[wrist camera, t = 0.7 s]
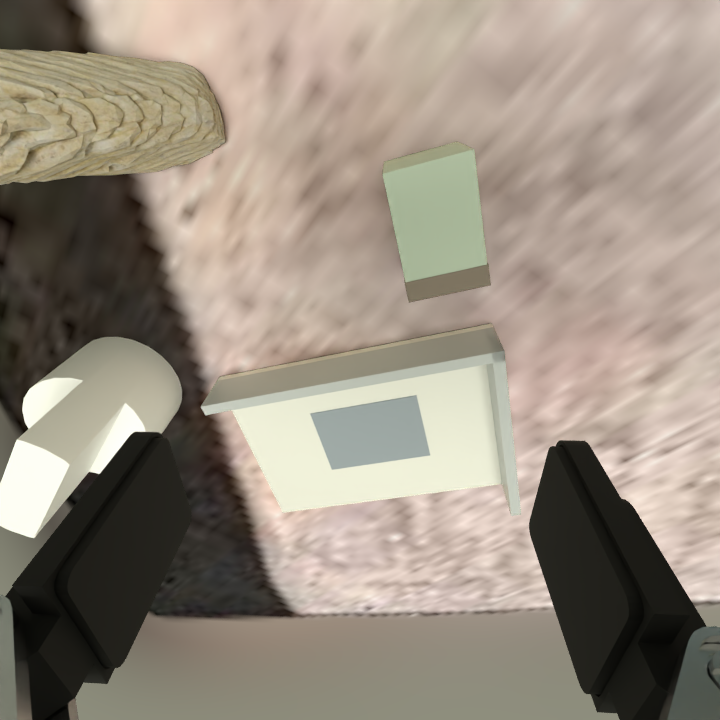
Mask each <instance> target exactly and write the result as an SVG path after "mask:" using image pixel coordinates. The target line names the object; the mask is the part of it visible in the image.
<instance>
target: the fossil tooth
mask: <svg viewBox="0 0 720 720" xmlns="http://www.w3.org/2000/svg"><path fill="white" fill-rule="evenodd" d="M223 143H225V135H224V126H223V121H222V117H221V112H220V109H219V106H218V103H217V102H216V101H215V97H214V94H213V93H211V92H210V88H209V85H208V83H207V82H206V80H205V78H204V77H203V75H202V74H201V73H200V72H198V71H197V70H196V69H195V68H193V67H192V66H189V65H186V64H183V63H178V62H170V61H167V62H155V61H149V60H144V59H138V58H128V57H117V56H110V55H103V54H96V53H90V52H88V53H86V54H80V53H73V52H65V51H50V52H44V51H35V50H4V49H0V185H3V184H9V183H11V182H22V183H29V182H33V181H42V182H45V181H50V180H55V179H63V178H71V177H75V176H83V175H118V174H130V173H147V172H158V171H161V170H164V169H167V168H170V167H172V166H177V165H184V164H190V163H192V162H194V161H196V160H198V159H200V158H202V157H204V156H206V155H208V154H211V153H213V150H212V149H215V148H217V147H219V146H220V145H221V144H223Z"/></svg>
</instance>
